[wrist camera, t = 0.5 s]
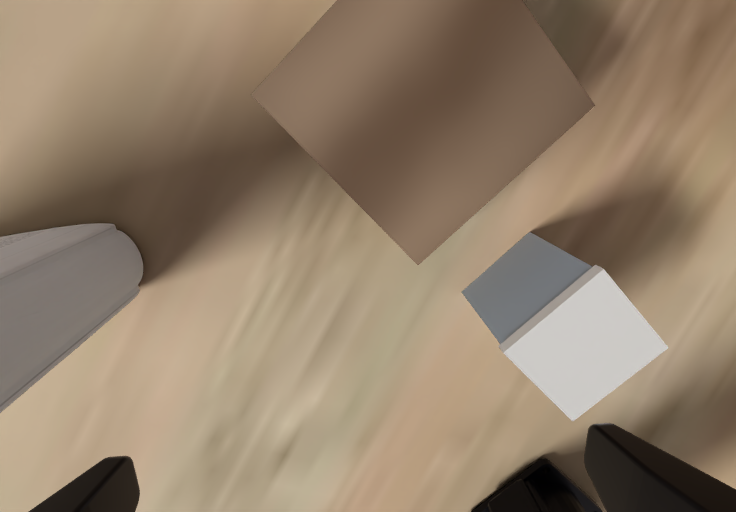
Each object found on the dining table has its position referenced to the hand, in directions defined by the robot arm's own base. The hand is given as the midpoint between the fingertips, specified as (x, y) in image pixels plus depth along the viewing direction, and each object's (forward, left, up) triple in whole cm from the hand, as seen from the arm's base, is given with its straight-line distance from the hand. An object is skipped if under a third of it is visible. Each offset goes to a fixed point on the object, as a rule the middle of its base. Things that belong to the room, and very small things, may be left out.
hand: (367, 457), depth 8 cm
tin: (-8, -5, -13) cm, 16 cm away
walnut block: (+3, -7, -13) cm, 15 cm away
